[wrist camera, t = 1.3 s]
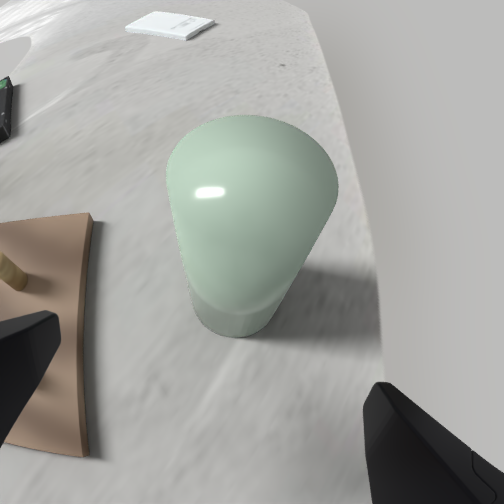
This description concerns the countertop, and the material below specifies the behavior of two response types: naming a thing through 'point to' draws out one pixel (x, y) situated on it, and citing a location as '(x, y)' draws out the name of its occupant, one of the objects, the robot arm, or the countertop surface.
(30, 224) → the wooden peg board
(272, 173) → the canister
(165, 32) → the external hard drive
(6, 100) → the disk drive
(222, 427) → the countertop surface
